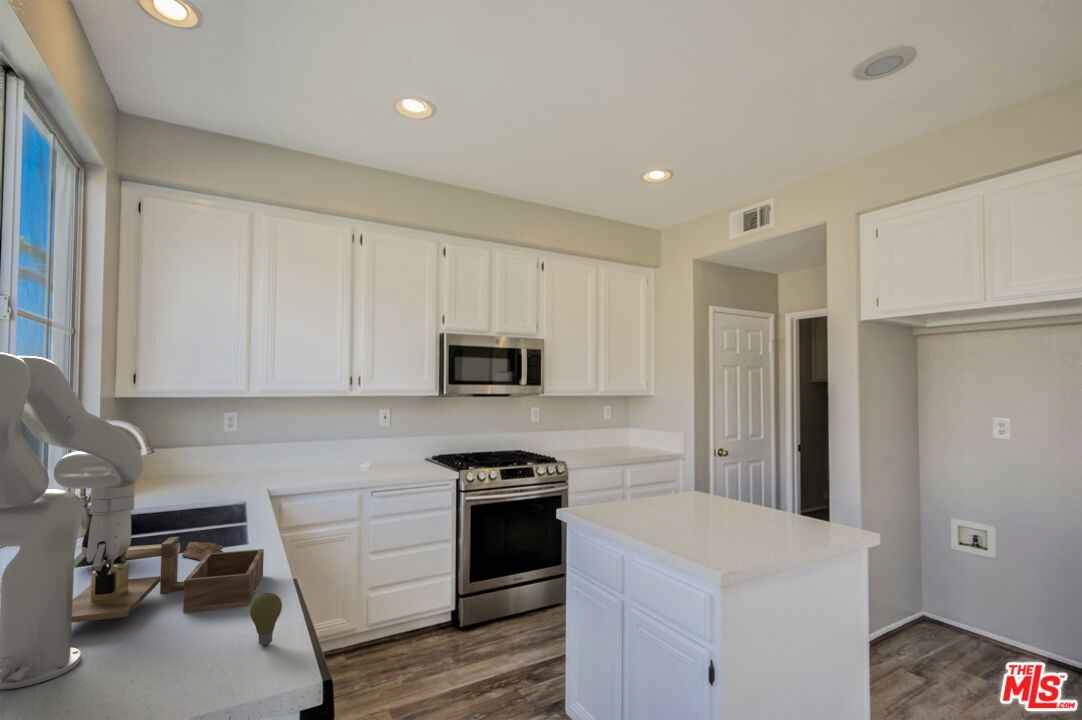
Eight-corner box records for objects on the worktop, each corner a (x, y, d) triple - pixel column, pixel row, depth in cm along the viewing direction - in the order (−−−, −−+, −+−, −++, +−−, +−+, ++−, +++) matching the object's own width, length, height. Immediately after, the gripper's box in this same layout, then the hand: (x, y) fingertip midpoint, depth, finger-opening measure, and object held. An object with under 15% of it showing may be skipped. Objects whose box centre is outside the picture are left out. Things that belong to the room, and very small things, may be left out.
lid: (126, 619, 112) (128, 580, 112) (48, 627, 107) (49, 588, 108) (160, 583, 131) (161, 550, 131) (94, 589, 126) (95, 556, 127)
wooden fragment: (232, 559, 158) (232, 556, 158) (187, 568, 151) (187, 564, 151) (214, 539, 178) (214, 536, 178) (174, 546, 171) (174, 542, 171)
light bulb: (245, 654, 103) (247, 600, 104) (252, 640, 109) (253, 589, 109) (278, 650, 105) (279, 597, 105) (283, 637, 110) (284, 586, 111)
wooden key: (176, 554, 135) (176, 546, 135) (107, 560, 130) (108, 551, 130) (179, 551, 137) (180, 542, 137) (113, 556, 133) (113, 547, 133)
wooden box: (248, 605, 125) (250, 553, 126) (137, 617, 119) (139, 562, 119) (262, 575, 144) (264, 530, 145) (167, 584, 138) (169, 537, 138)
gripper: (109, 497, 127) (106, 576, 126) (72, 515, 110) (69, 606, 110) (147, 495, 129) (144, 573, 128) (117, 512, 113) (114, 602, 112)
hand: (110, 587), depth 119 cm, fingers closed on lid, 5 cm apart
